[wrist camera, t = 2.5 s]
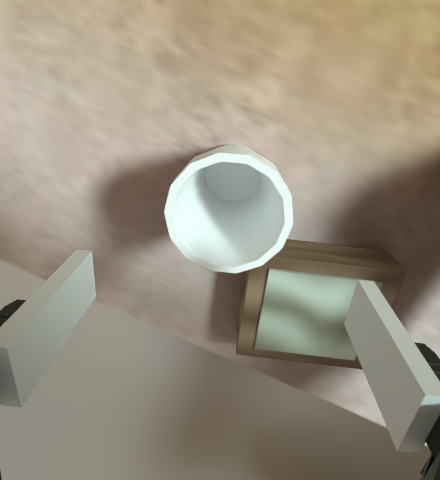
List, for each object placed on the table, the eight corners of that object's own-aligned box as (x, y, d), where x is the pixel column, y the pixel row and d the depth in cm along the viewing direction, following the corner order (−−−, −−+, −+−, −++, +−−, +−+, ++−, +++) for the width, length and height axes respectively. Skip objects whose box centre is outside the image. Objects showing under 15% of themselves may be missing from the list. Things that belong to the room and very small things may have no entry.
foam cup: (283, 133, 34) (305, 160, 22) (270, 217, 38) (283, 277, 26) (190, 124, 34) (164, 147, 22) (187, 209, 38) (163, 266, 26)
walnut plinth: (251, 235, 39) (252, 255, 35) (387, 250, 39) (406, 273, 34) (236, 328, 45) (236, 355, 41) (354, 342, 45) (367, 371, 40)
